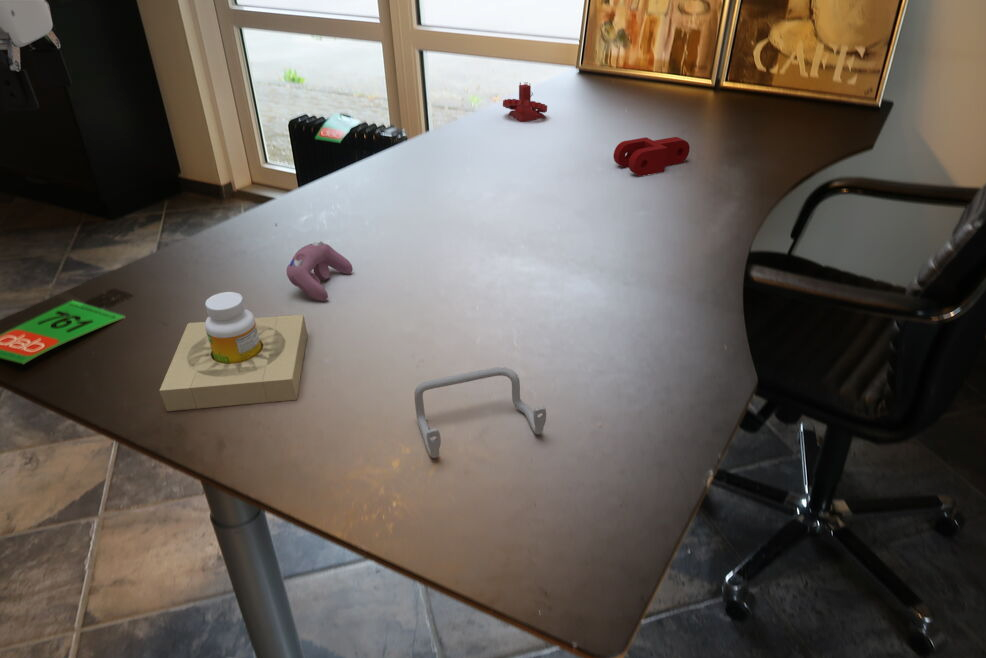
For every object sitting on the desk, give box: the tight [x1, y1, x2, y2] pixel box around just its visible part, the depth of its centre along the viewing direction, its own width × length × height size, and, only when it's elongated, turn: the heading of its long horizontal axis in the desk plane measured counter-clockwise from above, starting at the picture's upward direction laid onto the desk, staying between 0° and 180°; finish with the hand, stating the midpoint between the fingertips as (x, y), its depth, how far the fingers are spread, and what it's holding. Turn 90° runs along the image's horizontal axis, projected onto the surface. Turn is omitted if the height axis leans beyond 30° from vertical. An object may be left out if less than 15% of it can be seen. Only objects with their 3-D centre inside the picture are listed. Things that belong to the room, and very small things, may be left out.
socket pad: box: [159, 314, 308, 412], centre depth 84 cm, size 14×14×3 cm
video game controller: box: [286, 241, 354, 302], centre depth 101 cm, size 10×5×7 cm, turn 168°
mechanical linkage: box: [613, 136, 691, 177], centre depth 145 cm, size 16×7×5 cm, turn 119°
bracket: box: [414, 366, 547, 459], centre depth 76 cm, size 13×8×5 cm, turn 110°
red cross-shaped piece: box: [502, 82, 548, 123], centre depth 170 cm, size 11×12×8 cm
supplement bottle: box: [204, 291, 262, 364], centre depth 82 cm, size 5×5×10 cm
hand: (41, 97), depth 79 cm, fingers open, 9 cm apart
